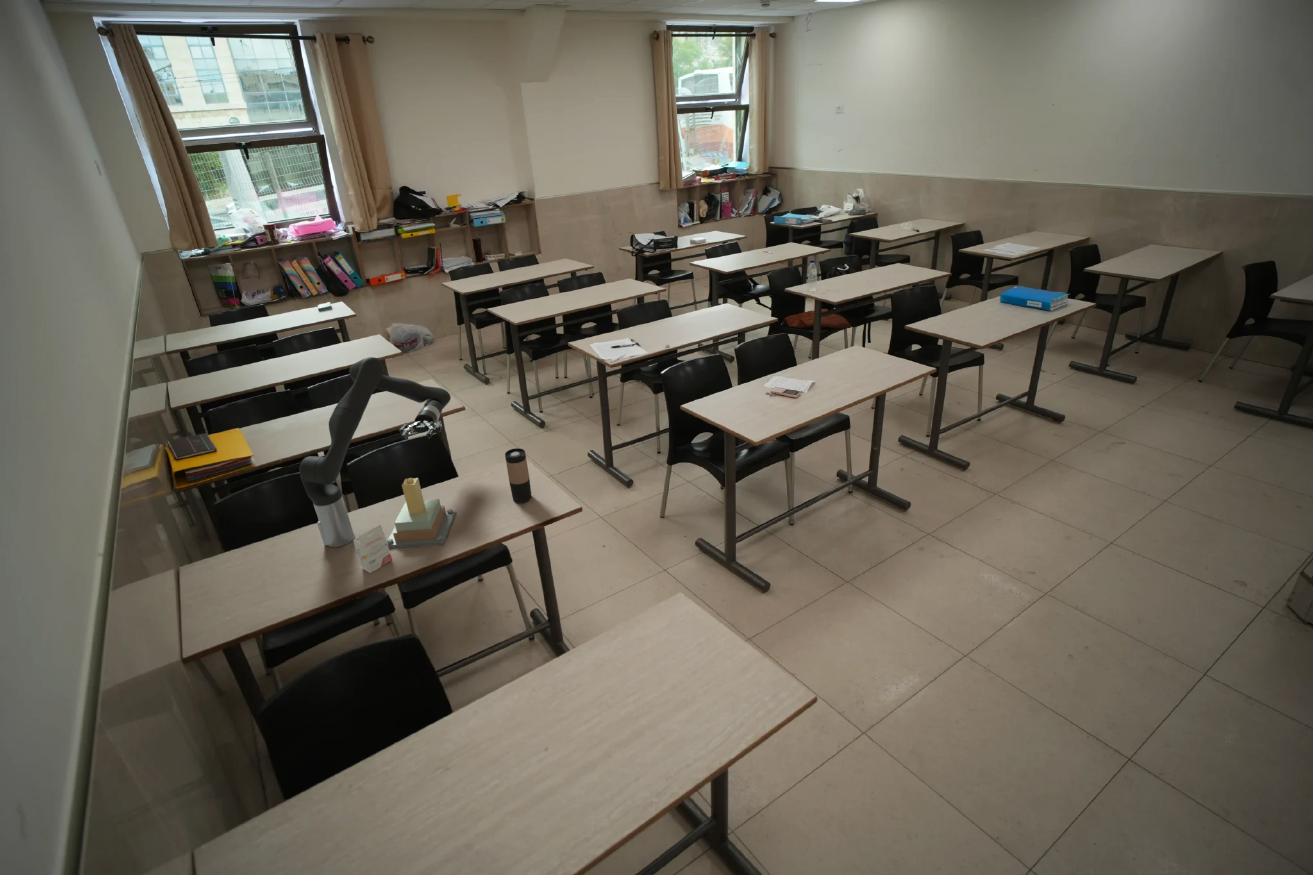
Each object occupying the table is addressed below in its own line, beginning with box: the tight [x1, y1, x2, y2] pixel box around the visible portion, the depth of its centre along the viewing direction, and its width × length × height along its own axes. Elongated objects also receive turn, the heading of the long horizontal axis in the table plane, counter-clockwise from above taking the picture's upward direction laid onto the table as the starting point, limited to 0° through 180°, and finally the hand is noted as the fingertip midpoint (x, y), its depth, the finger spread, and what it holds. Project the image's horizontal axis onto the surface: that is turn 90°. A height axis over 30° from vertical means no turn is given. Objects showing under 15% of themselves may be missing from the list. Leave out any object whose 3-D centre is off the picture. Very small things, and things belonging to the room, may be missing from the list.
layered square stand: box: [386, 498, 457, 549], centre depth 235 cm, size 20×20×8 cm
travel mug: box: [504, 447, 532, 504], centre depth 248 cm, size 8×8×20 cm
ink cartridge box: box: [352, 524, 393, 574], centre depth 216 cm, size 9×5×15 cm, turn 143°
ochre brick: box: [401, 477, 425, 514], centre depth 230 cm, size 4×4×13 cm
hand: (416, 437), depth 237 cm, fingers open, 8 cm apart
